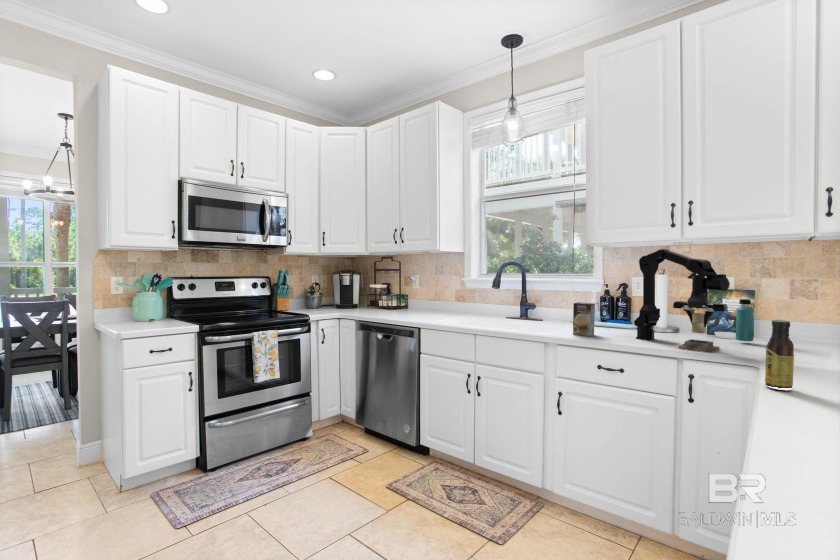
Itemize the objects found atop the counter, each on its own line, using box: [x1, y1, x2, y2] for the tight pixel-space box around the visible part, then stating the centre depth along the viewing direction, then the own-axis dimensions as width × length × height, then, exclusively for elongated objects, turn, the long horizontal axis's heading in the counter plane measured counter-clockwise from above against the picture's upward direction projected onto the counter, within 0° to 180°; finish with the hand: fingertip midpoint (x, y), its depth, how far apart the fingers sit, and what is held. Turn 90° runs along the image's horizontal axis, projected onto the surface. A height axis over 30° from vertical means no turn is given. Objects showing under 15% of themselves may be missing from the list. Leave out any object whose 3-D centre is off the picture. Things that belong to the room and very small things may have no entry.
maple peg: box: [691, 312, 707, 335], centre depth 185 cm, size 4×4×8 cm
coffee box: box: [572, 301, 596, 337], centre depth 222 cm, size 9×6×16 cm
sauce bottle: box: [764, 319, 795, 389], centre depth 125 cm, size 7×6×20 cm
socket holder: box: [677, 338, 720, 353], centre depth 185 cm, size 12×12×3 cm
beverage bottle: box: [735, 298, 755, 342], centre depth 197 cm, size 6×7×20 cm
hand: (699, 326), depth 185 cm, fingers closed on maple peg, 4 cm apart
